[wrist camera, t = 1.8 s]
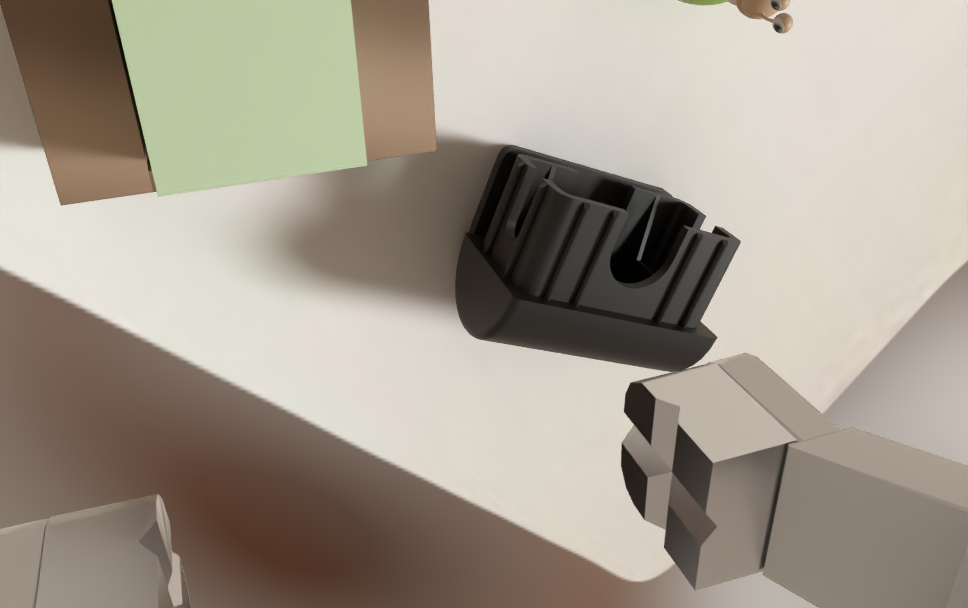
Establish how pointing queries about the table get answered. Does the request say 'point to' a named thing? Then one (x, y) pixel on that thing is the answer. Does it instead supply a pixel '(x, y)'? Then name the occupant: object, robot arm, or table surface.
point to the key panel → (113, 111)
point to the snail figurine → (758, 10)
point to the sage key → (243, 89)
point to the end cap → (588, 265)
